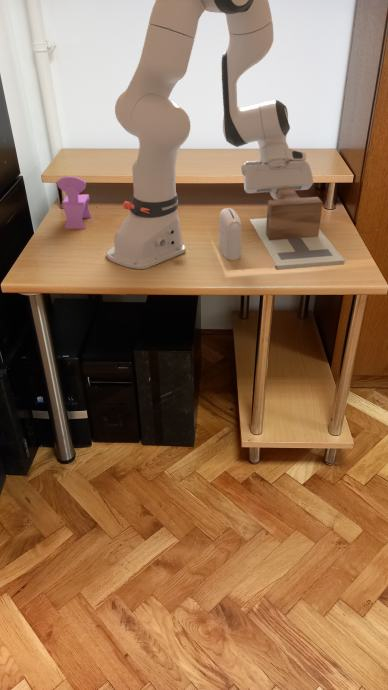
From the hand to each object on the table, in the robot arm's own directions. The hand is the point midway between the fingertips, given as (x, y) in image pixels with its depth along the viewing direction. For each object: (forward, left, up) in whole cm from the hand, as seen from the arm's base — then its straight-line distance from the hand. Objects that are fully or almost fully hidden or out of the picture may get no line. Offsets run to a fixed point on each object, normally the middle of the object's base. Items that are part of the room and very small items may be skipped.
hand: (281, 204), depth 168 cm
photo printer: (-26, 0, -6) cm, 27 cm away
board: (-10, -10, -6) cm, 15 cm away
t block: (-5, -6, -5) cm, 9 cm away
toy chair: (-34, +49, -6) cm, 61 cm away
